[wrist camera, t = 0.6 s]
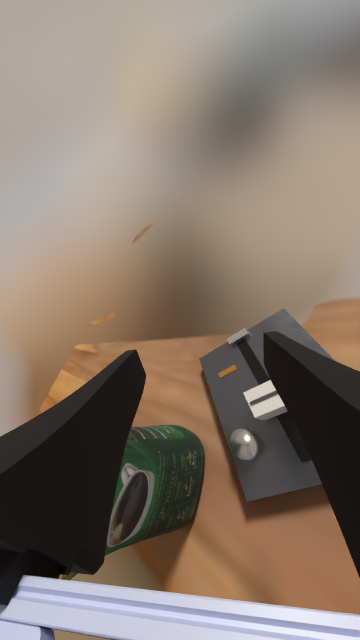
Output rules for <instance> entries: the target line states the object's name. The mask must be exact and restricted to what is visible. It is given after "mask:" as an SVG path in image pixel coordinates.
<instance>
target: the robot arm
mask: <svg viewBox="0 0 360 640" xmlns="http://www.w3.org/2000/svg"><path fill="white" fill-rule="evenodd" d="M263 355H264V365H265V368H266V370H267V373H268V375H269V378H270V380H271V382H272V384H273V386H274V387H275V389H276V391H277V393H278V395H279V396H280V398H281V400H282V402H283V403H284V405H285V407H286V409H287V411H288V412H289V414H290V416H291V418H292V419H293V421H294V423H295V425H296V427H297V429H298V431H299V433H300V435H301V437H302V439H303V442H304V444H305V446H306V448H307V450H308V453H309V455H310V457H311V459H312V462H313V464H314V466H315V469H316V471H317V473H318V476H319V478H320V480H321V482H322V485H323V487H324V490H325V492H326V494H327V497H328V499H329V502H330V504H331V506H332V509H333V511H334V514H335V516H336V519H337V521H338V523H339V526H340V529H341V531H342V534H343V536H344V539H345V541H346V544H347V546H348V549H349V551H350V554H351V557H352V559H353V562H354V564H355V567H356V569H357V572H358V575H359V577H360V372H359V371H357V370H354V369H352V368H350V367H347V366H345V365H343V364H340V363H338V362H336V361H334V360H332V359H330V358H327V357H325V356H323V355H321V354H319V353H317V352H315V351H313V350H311V349H309V348H307V347H305V346H303V345H302V344H300V343H298V342H296V341H294V340H292V339H290V338H289V337H287V336H285V335H283V334H281V333H279V332H277V331H271V332H264V333H263ZM145 379H146V373H145V371H144V368H143V366H142V363H141V361H140V358H139V355H138V353H137V350H128V351H126V352H124V353H123V354H122V355H120V356H119V357H118V358H117V359H115V360H114V361H113V362H112V363H110V364H109V365H108V366H107V367H106V368H104V369H103V370H102V371H101V372H100V373H98V374H97V375H96V376H95V377H93V378H92V379H91V380H90V381H88V382H87V383H86V384H84V385H83V386H82V387H81V388H79V389H78V390H76V391H75V392H74V393H72V394H71V395H69V396H68V397H66V398H65V399H64V400H62V401H61V402H59V403H58V404H56V405H55V406H53V407H51V408H50V409H48V410H46V411H45V412H43V413H41V414H40V415H38V416H37V417H35V418H33V419H32V420H30V421H28V422H26V423H25V424H23V425H21V426H19V427H18V428H16V429H14V430H12V431H10V432H8V433H6V434H4V435H3V436H1V437H0V640H55V636H54V631H53V630H52V629H55V630H61V631H66V632H72V633H78V634H84V635H89V636H95V637H100V638H106V639H111V640H360V615H357V614H348V613H340V612H331V611H323V610H314V609H306V608H298V607H289V606H281V605H272V604H264V603H256V602H247V601H239V600H230V599H222V598H213V597H205V596H197V595H188V594H180V593H171V592H163V591H154V590H145V589H137V588H128V587H121V586H112V585H104V584H95V583H87V582H78V581H70V580H62V579H56V578H57V575H58V574H59V575H69V574H70V572H72V573H81V574H90V575H93V574H95V573H96V572H97V571H98V570H99V568H100V567H101V566H102V564H103V562H104V557H105V550H106V544H107V538H108V531H109V525H110V519H111V513H112V508H113V503H114V497H115V492H116V487H117V482H118V477H119V473H120V468H121V463H122V459H123V455H124V451H125V447H126V442H127V439H128V435H129V432H130V429H131V426H132V423H133V420H134V417H135V414H136V411H137V408H138V405H139V402H140V399H141V396H142V393H143V390H144V385H145Z"/></svg>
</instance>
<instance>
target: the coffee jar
mask: <svg viewBox="0 0 360 640" xmlns="http://www.w3.org/2000/svg"><path fill="white" fill-rule="evenodd" d="M204 459H205V457H204V449H203V446H202V443H201V441H200V440H199V438H198V437H197V436H196V435H195V434H194V433H192V432H191V431H189V430H188V429H186V428H184V427H181V426H177V425H160V426H147V427H131V429H130V432H129V435H128V439H127V442H126V447H125V451H124V455H123V459H122V463H121V468H120V473H119V477H118V482H117V487H116V492H115V497H114V503H113V508H112V513H111V519H110V525H109V531H108V538H107V544H106V550H105V555H107V554H109V553H112V552H114V551H116V550H118V549H121V548H123V547H127V546H129V545H132V544H134V543H137V542H140V541H143V540H146V539H148V538H152V537H155V536H158V535H162V534H165V533H169V532H172V531H175V530H177V529H179V528H182V527H184V526H185V525H187V524H188V523H189V522H190V520H191V519H192V517H193V515H194V512H195V509H196V506H197V502H198V498H199V494H200V489H201V484H202V478H203V471H204ZM76 574H77V573H72V572H70V574H69V575H59V574H58V575H57V578H56V579H62V580H70V579H72V578H73V577H74V576H75V575H76Z"/></svg>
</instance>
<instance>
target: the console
mask: <svg viewBox="0 0 360 640" xmlns="http://www.w3.org/2000/svg"><path fill="white" fill-rule="evenodd" d="M271 331H277V332H279V333H281V334H283V335H285V336H287V337H289V338H290V339H292V340H294V341H296V342H298V343H300V344H302V345H303V346H305V347H307V348H309V349H311V350H313V351H315V352H317V353H319V354H321V355H323V356H325V357H327V358H330V359H332V360H334V359H333V358H332V357H331V356H330V355H329V354H328V353H327V352H326V351H325V350H324V349H323V348H322V347H321V346H320V345H319V344H318V343H317V342H316V341H315V340H314V339H313V338H312V337H311V336H310V335H309V334H308V333H307V332H306V331H305V330H304V329H303V328H302V327H301V326H300V325H299V324H298V323H297V322H296V321H295V320H294V318H293V317H291V315H289V313H287V311H286V310H285V309H282V310H280V311H279V312H277V313H275V314H274V315H272V316H270V317H269V318H267V319H265V320H264V321H262V322H260V323H259V324H257V325H255V326H253V327H252V328H250V329H249V330H246V329H245V328H244V329H243V330H241V331H239V332H237V333H236V334H234V335H232V336H231V337H229V338H227V341H228V342H227V343H225V344H223V345H222V346H220V347H218V348H217V349H215V350H213V351H212V352H210V353H208V354H207V355H205V356H203V357H202V358H200V362H201V365H202V368H203V371H204V374H205V377H206V380H207V383H208V386H209V389H210V392H211V395H212V398H213V401H214V404H215V407H216V410H217V413H218V417H219V420H220V423H221V426H222V429H223V432H224V435H225V438H226V441H227V444H228V447H229V450H230V453H231V456H232V459H233V462H234V465H235V468H236V471H237V474H238V477H239V480H240V483H241V486H242V489H243V492H244V495H245V498H246V501H247V502H248V501H252V500H257V499H261V498H265V497H270V496H274V495H278V494H282V493H287V492H291V491H295V490H300V489H304V488H308V487H313V486H317V485H321V484H322V482H321V480H320V478H319V476H318V473H317V471H316V469H315V466H314V464H313V462H312V459H311V457H310V455H309V453H308V450H307V448H306V446H305V444H304V442H303V439H302V437H301V435H300V433H299V431H298V429H297V427H296V425H295V423H294V421H293V419H292V418H291V416H290V414H289V412H285V413H283V414H280V415H278V416H275V417H273V418H270V419H267V420H265V421H263V420H260V419H257V418H255V417H254V415H253V413H252V411H251V408H250V406H249V404H248V402H247V400H246V398H245V396H244V392H246V391H248V390H250V389H252V388H254V387H256V386H259V385H261V384H263V383H265V382H267V381H269V380H270V378H269V375H268V373H267V370H266V368H265V365H264V355H263V333H264V332H271ZM334 361H335V360H334Z"/></svg>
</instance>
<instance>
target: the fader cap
mask: <svg viewBox="0 0 360 640" xmlns="http://www.w3.org/2000/svg"><path fill="white" fill-rule="evenodd" d="M244 396H245V398H246V400H247V402H248V404H249V406H250V408H251V411H252V413H253V415H254V417H255V418H257V419H260V420H263V421H265V420H267V419H270V418H273V417H275V416H278V415H280V414H283V413H285V412H288V411H287V409H286V407H285V405H284V403H283V402H282V400H281V398H280V396H279V395H278V393H277V391H276V389H275V387H274V386H273V384H272V382H271V380H269V381H267V382H265V383H263V384H261V385H259V386H256V387H254V388H252V389H250V390H248V391H246V392H244Z"/></svg>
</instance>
